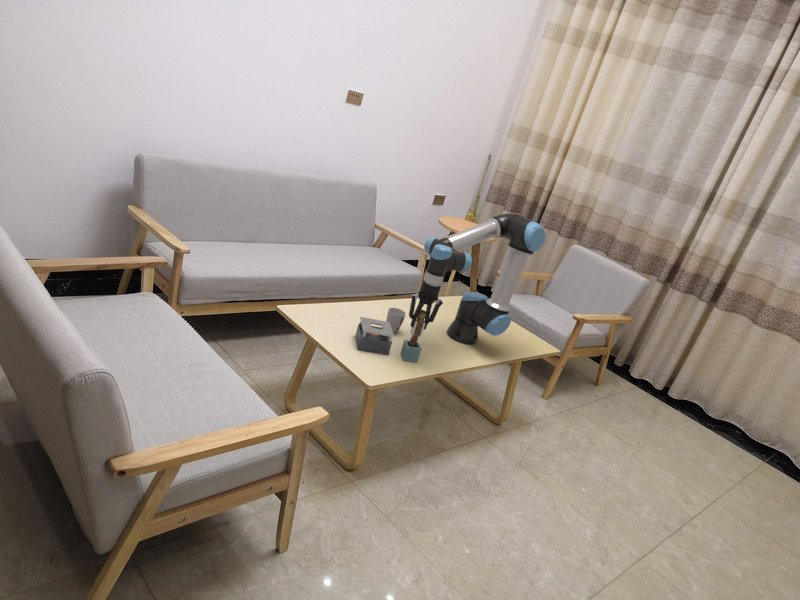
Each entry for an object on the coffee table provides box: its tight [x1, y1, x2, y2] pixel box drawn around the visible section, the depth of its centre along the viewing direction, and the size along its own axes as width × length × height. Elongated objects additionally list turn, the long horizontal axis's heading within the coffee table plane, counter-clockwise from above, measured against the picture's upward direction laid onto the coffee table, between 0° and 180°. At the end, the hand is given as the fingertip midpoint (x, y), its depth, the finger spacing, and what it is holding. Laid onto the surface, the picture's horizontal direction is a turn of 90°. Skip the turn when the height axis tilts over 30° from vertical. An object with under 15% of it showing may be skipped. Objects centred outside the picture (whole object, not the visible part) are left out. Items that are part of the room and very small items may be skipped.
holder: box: [400, 339, 422, 364], centre depth 226 cm, size 6×6×7 cm
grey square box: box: [354, 316, 395, 356], centre depth 227 cm, size 13×13×9 cm
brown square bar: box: [409, 309, 426, 347], centre depth 223 cm, size 3×3×18 cm
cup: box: [385, 307, 407, 335], centre depth 246 cm, size 8×8×10 cm
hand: (415, 334), depth 223 cm, fingers closed on brown square bar, 3 cm apart
